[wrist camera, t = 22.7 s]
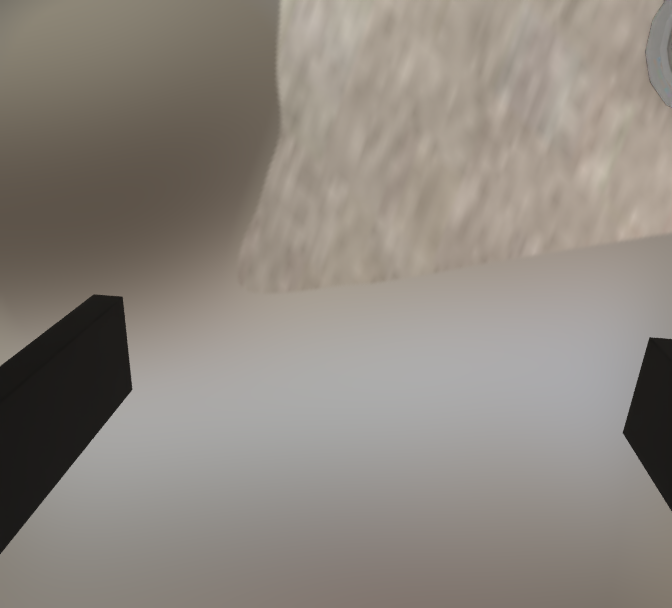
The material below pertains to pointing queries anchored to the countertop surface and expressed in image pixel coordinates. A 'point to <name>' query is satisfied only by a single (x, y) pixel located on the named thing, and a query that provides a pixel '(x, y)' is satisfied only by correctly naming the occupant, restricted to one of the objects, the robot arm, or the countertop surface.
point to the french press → (661, 52)
